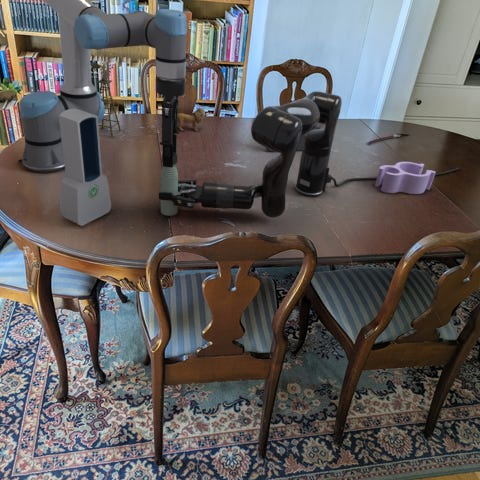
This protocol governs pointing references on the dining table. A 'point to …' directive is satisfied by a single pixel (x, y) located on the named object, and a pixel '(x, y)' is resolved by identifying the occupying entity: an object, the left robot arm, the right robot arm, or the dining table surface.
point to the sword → (386, 138)
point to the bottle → (169, 189)
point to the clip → (404, 178)
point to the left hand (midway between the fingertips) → (169, 161)
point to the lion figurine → (191, 118)
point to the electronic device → (82, 168)
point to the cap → (173, 158)
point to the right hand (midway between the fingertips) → (160, 191)
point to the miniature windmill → (105, 81)
